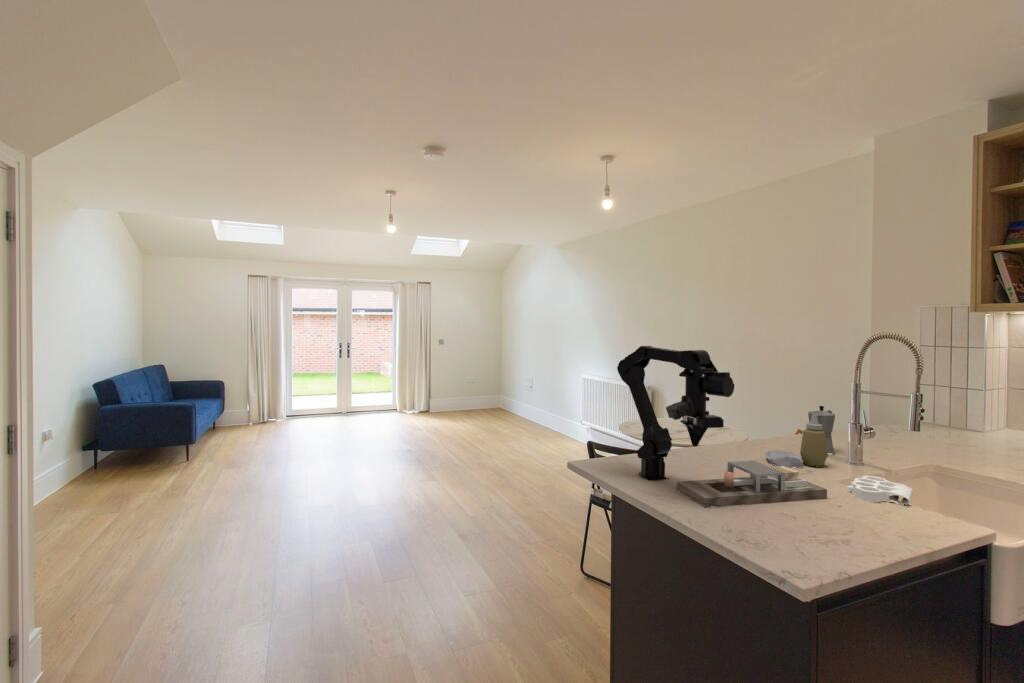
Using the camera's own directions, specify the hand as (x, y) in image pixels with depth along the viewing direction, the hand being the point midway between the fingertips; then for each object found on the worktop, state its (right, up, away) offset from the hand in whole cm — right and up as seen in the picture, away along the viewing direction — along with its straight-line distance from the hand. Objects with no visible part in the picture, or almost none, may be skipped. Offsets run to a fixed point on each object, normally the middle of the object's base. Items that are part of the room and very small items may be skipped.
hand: (694, 446), depth 141 cm
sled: (+18, -10, -2) cm, 21 cm away
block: (+25, -11, -1) cm, 27 cm away
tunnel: (+16, -11, -3) cm, 20 cm away
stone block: (+42, -13, +30) cm, 53 cm away
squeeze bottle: (+52, -13, +27) cm, 60 cm away
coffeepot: (+66, -12, +45) cm, 81 cm away
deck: (+15, -13, -3) cm, 20 cm away
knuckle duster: (+52, -14, -3) cm, 54 cm away
